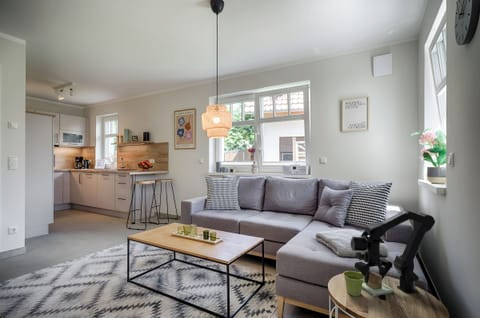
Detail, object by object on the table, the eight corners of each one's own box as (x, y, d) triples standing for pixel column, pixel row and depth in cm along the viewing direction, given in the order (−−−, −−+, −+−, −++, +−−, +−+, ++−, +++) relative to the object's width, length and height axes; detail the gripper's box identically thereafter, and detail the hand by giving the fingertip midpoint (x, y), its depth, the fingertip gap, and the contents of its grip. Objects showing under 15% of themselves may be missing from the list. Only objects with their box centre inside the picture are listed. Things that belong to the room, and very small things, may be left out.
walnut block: (373, 283, 125) (373, 271, 126) (381, 288, 121) (381, 276, 121) (365, 284, 124) (365, 273, 124) (373, 289, 119) (373, 277, 119)
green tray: (373, 280, 130) (373, 278, 130) (393, 292, 118) (393, 289, 118) (354, 284, 126) (354, 281, 126) (373, 296, 115) (373, 293, 115)
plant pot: (367, 299, 112) (367, 280, 112) (345, 297, 114) (345, 278, 114) (361, 289, 121) (361, 271, 121) (341, 287, 123) (341, 270, 123)
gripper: (375, 244, 133) (375, 272, 133) (346, 247, 128) (346, 277, 127) (393, 251, 122) (393, 282, 122) (363, 255, 117) (363, 287, 117)
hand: (373, 282), depth 122 cm, fingers open, 9 cm apart
